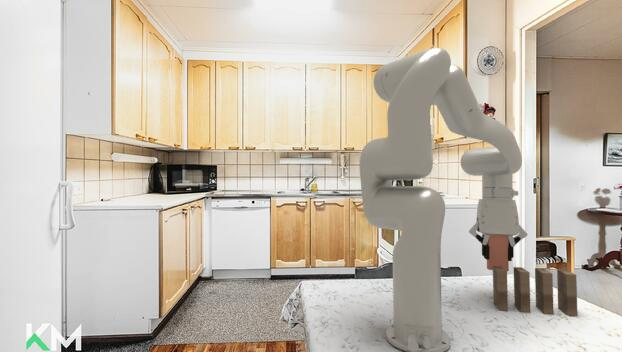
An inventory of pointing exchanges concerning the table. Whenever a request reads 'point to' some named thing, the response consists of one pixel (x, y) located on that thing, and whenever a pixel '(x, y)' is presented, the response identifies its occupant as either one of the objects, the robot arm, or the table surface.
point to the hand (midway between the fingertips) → (497, 258)
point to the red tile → (498, 252)
